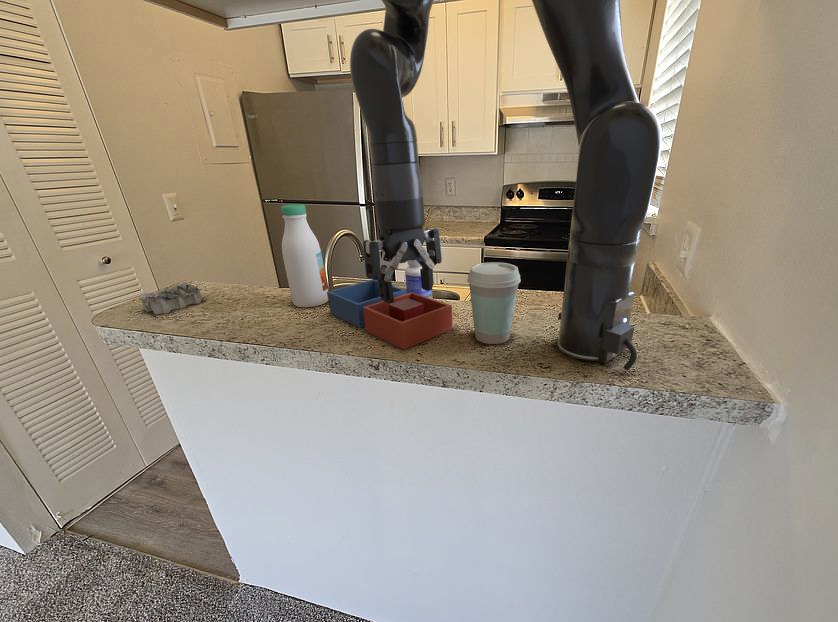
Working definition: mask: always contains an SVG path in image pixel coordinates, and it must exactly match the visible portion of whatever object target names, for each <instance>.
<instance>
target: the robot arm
mask: <svg viewBox="0 0 838 622" xmlns="http://www.w3.org/2000/svg"><path fill="white" fill-rule="evenodd" d="M620 1H621V0H531V3H532V5H533V8H534V11H535V14H536V16H537V19H538V22H539V24H540V26H541V30H542V33H543V35H544V37H545V40H546V42H547V44H548V47H549V49H550V51H551V54H552V56H553V58H554V61H555V62H556V65H557V67H558V69H559V72H560V74H561V77H562V79H563V82H564V84H565V87H566V91H567V95H568V99H569V102H570V108H571V111H572V112H571V113H572V116H573V122H574V128H575V132H576V133H575V134H576V139H577V145H578V158H577V159H578V160H577V167H576V170H577V171H576V178H575V186H574V187H575V188H574V197H573V205H572V211H571V221H570V230H569V231H570V232H569V240H568V250H567V259H566V267H565V277H564V283H563V284H564V286H563V295H562V303H561V311H560V312H559V313H558V315H557V316H558V317H557V321H560V323H559V331H558V339H557V345H556V346H557V348H558V350H559V351H560V352H561V353H563V354H564V355H566V356H568V357H570V358H573V359H578V360H581V361H588V362H589V361H590V362H599V363H602V364H607V363H608V362H609V361H611V360H612V359H614V358H616V357H617V356H618V355H620V354H621V353H623V352H624V351H625V350H626V349H628V351H629V353H630V358H629V359H628V361H627V362H626V363H625V364H624V365H623V369H624V370H625V371H630V369H631V368H632V366H633V365H634V364H635V363H636V361H637V359H638V353H637V350H636V348H635V346H634V344H633V343H632V342H633V336H634V331H635V325H632V324H630V321H631V316H632V310H633V306H634V301H635V295H636V294H635V292H634V291H631V286H632V282H633V281H632V280H633V276H634V270H635V265H636V261H637V254H638V250H639V243H640V240H641V235H642V230H643V226H644V224H645V221H646V218H647V216H648V213H649V210H650V205H651V200H652V195H653V190H654V186H655V181H656V176H657V171H658V168H659V167H658V166H659V162H660V158H661V157H660V156H661V151H662V142H663V131H662V126H661V122H660V120H659V118H658V116H657V115H656V113H655V112H654V111H653V110H652V109H651V107H648V106H647V105H645V104H643V103H641V102H640V100H639V96H638V94H637V92H636V89H635V85H634V82H633V79H632V76H631V73H630V70H629V67H628V62H627V58H626V54H625V49H624V42H623V30H622V16H621V15H622V13H621V3H620ZM381 2H382V3H383V5H384V10H385V11H384V21H383V29H382V30H381V29H379V28H368V29H365V30H363V31H361V32H360V33H359V34H358V35H357V36H356V38H355V39H354V41H353V42H352V43H353V44H352V47H351V50H350V54H349V55H350V57H349V70H350V77H351V78H350V79H351V82H352V86H353V91H354V94H355V97H356V101H357V104H358V107H359V110H360V113H361V116H362V120H363V122H364V124H365V128H366V130H367V134H368V144H369V153H370V160H371V169H372V175H371V177H372V189H373V197H374V205H375V206H374V207H375V214H376V221H377V227H378V230H379V231H380V232H379V233H380V236H379V239H376V240H369V239H364V240H363V242H362V247H363V258H364V259H363V260H364V269H365V276H366V278H368V279H369V280H376V281H378V284H379V291H380V297H381V299H382V300H383V301H384V302H386V303H389V304H390V303H393V302H394V297H393V289H392V286H393V282H392V280H391V278H392V277H393V275H394V273H395V271H397V269H398V268H399V266H400V264H404V263H407V261H408V260H412V261H413V260H416V261H417V262H418V263H419V264H420V266H421V267H422V269H420V274H421V286H422V289H423V290H426V291H430V290H432V291H433V287H434V268H435V266H436V265H438V264H441V263H442V261H443V258H442V249H441V238H440V230H439V229H438V228H434V227H425V229H424V226H425V224H426V219H425V206H424V193H423V180H422V173H421V169H420V163H419V148H418V136H417V130H416V126H415V123H414V121H413V120H412V119H411V118H410V117H409V116H408V115H407V114H406V111H405V106H404V99H403V98H405V97H407V96H408V95H409V94H410V93H411V92H413V89H415V87H416V85H417V83H418V81H419V78H420V76H421V73H422V69H423V65H424V59H425V53H426V47H427V42H428V41H427V40H428V35H429V34H428V33H429V25H430V23H429V22H430V16H431V11H432V8H433V5H434V3H435V0H381ZM424 243H425V247H426V248H424V246H423V245H424ZM382 251H383V253H382ZM381 253H382V255H381V257H380V254H381Z"/></svg>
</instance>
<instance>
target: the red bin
mask: <svg viewBox="0 0 838 622" xmlns="http://www.w3.org/2000/svg"><path fill="white" fill-rule="evenodd" d="M407 298H409V299H411V300H414V301H417V302H420V303H423V304H424V314H422V315H420V316H417V317H414V318H411V319H408V320H405V321H403V322H401V321H399V320H396V319H394V318H392V317H390V313H389V303H386V302H384V301H381V302H378V303H375V304H371V305H368V306H365V307H363V313H364V320H365V327H364V328H365V331H366V332H368V333H370V334H371V335H373V336H376V337H378V338H380V339H381V340H383V341H386V342H387V343H390V344H391V345H394V346H396V347H398V348H399V349H400V348H401V349H402V350H405V349H408V348H410V347H413V346H416V345H418V344H421V343H423V342H426V341H427V340H430V339H433V338H435V337H438V336H440V335H442V334H445V333H448V332H450V331H452V330H453V306H452V304H449V303H445V302H442V301H439V300H437V299H431V298H428V297H425V296H422V295H419V294H416V293H413V292H411V293H407V292H406V294H404V295H401V296H398V297H394V302H393V303H395V302H398V301H401V300H404V299H407ZM390 304H392V303H390Z"/></svg>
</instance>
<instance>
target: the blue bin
mask: <svg viewBox="0 0 838 622" xmlns="http://www.w3.org/2000/svg"><path fill="white" fill-rule="evenodd" d="M392 289H393V297H398V296H401V295H404V294H407V290H406V289H404V288H401V287H398V286H395V285H392ZM327 296H328V301H327V303H328V306H329V307H328V308H329V313H330V314H331V315H333V316H335V317H337V318H339V319H341V320H343V321H345V322H347V323H349V324H351V325H353V326H355V327H357V328H359V329H362V328H366V327H365V320H364V313H363V307H365V306H368V305H371V304H375V303H378V302H381V301H383V300H382V299H381V297H380V291H379V284H378V281H376V280H373V279H369V280H365V281H362V282H358V283H355V284H351V285H347V286H343V287H339V288H335V289H331V290H328V291H327Z"/></svg>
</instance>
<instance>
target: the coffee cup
mask: <svg viewBox="0 0 838 622" xmlns="http://www.w3.org/2000/svg"><path fill="white" fill-rule="evenodd" d="M466 279H467V283H468V286H469V292H470V303H471V311H472V321H473V327H474V328H473V329H474V336H475V339H476V340H477V341H478V342H480V343H483V344H487V345H499V344H503V343H506V342H507V341H508V340H509V339H510V336H511V330H512V324H513V319H514V313H515V307H516V301H517V295H518V289H519V285H520V283H521V282H522V280H521V274H520V272H519V268H518V266H517V265H515V264H511V263H508V262H496V261H495V262H482V263H477V264H474V265H472V266H471V267H470V270H469V273H468V275H467V278H466Z"/></svg>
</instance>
